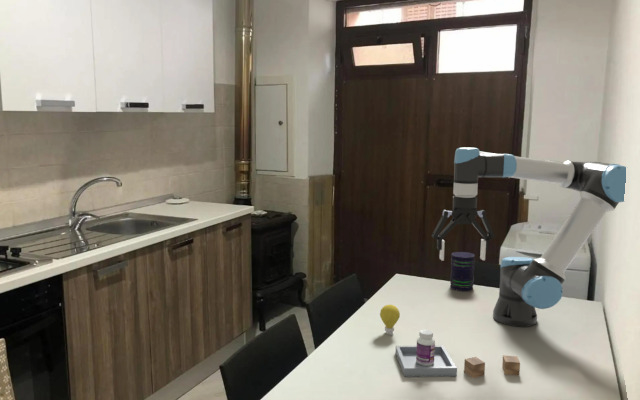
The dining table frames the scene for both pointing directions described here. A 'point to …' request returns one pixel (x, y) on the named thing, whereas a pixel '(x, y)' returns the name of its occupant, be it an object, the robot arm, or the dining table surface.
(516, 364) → the walnut block
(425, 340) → the pill bottle
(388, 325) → the light bulb
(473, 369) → the walnut block
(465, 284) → the storage jar
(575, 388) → the dining table surface
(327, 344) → the dining table surface
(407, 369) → the tray
